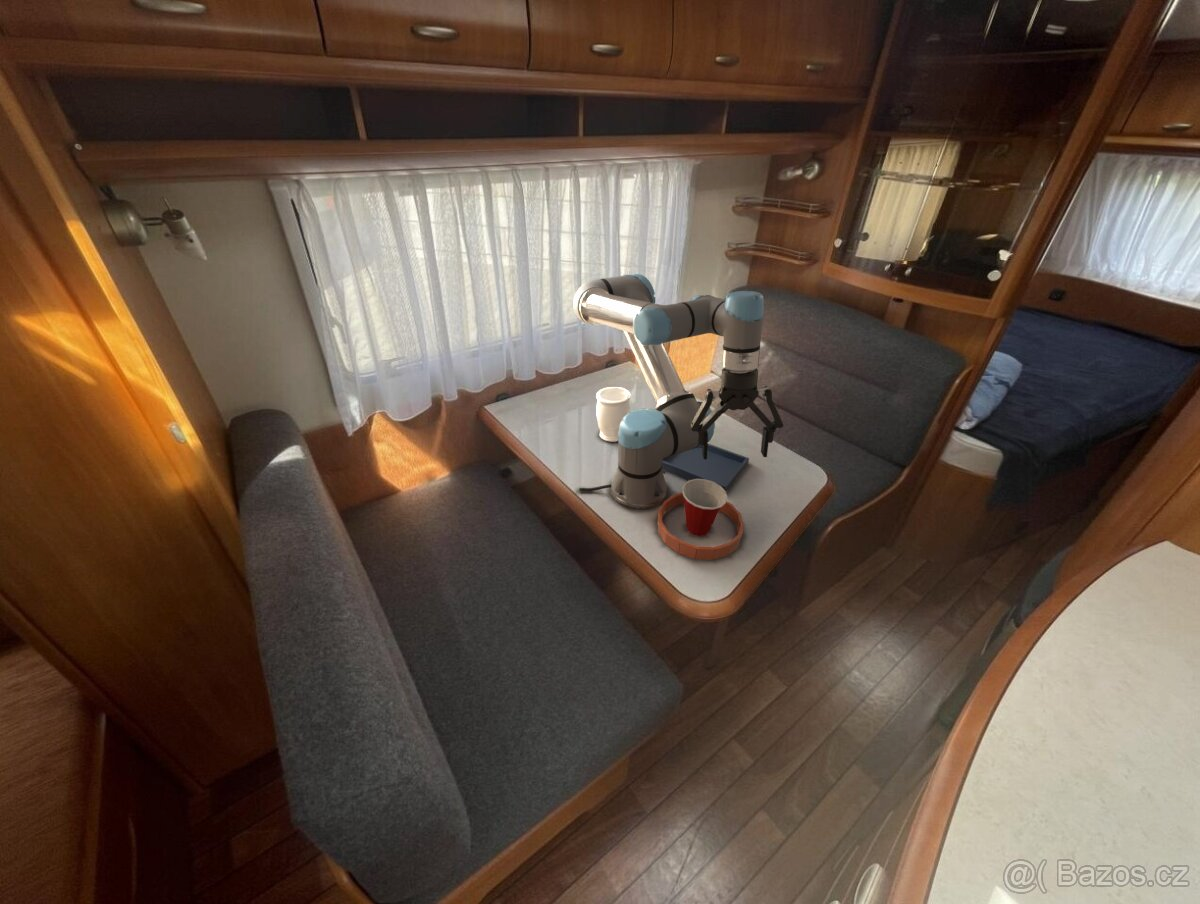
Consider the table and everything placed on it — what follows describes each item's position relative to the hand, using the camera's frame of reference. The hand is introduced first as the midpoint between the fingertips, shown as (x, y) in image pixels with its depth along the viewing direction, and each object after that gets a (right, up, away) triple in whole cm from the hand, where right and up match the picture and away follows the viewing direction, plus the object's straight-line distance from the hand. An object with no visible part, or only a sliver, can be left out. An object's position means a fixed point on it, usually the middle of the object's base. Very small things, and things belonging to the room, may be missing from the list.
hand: (734, 455), depth 112 cm
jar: (-27, +6, +44) cm, 52 cm away
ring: (-7, -18, +8) cm, 21 cm away
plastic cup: (-7, -18, +8) cm, 21 cm away
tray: (-1, -3, +30) cm, 30 cm away
